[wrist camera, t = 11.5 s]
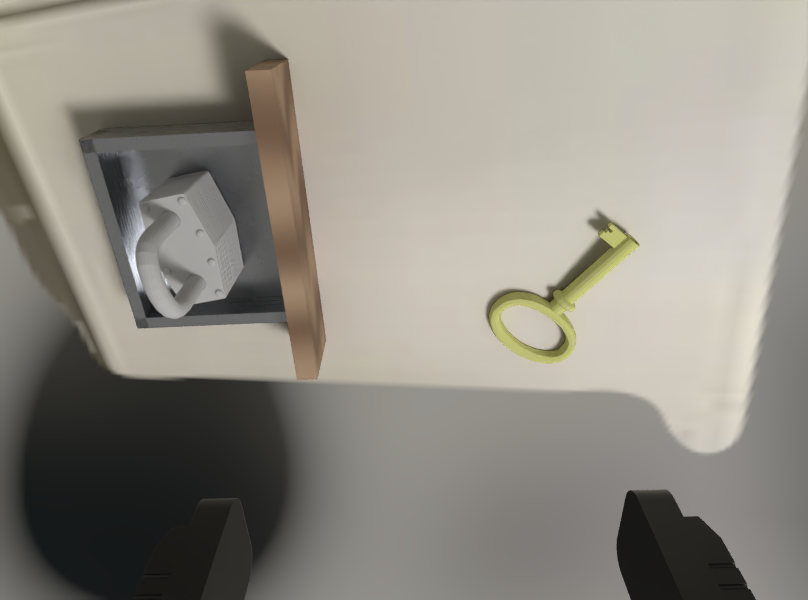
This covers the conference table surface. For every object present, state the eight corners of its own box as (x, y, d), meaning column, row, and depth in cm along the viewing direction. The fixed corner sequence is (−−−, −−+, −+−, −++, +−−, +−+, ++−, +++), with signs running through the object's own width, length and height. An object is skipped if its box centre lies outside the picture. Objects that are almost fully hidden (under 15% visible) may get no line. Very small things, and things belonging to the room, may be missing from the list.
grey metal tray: (102, 128, 37) (79, 139, 35) (273, 119, 37) (263, 130, 34) (154, 307, 43) (137, 328, 41) (301, 300, 43) (294, 321, 40)
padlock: (159, 179, 38) (85, 237, 29) (217, 167, 38) (160, 221, 29) (198, 275, 42) (143, 353, 33) (252, 264, 41) (211, 340, 32)
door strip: (264, 60, 35) (245, 71, 31) (288, 58, 35) (271, 69, 31) (307, 341, 45) (297, 379, 40) (325, 340, 45) (317, 379, 40)
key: (637, 226, 41) (648, 238, 39) (557, 364, 46) (563, 380, 44) (543, 193, 40) (550, 203, 38) (473, 338, 45) (476, 353, 43)
